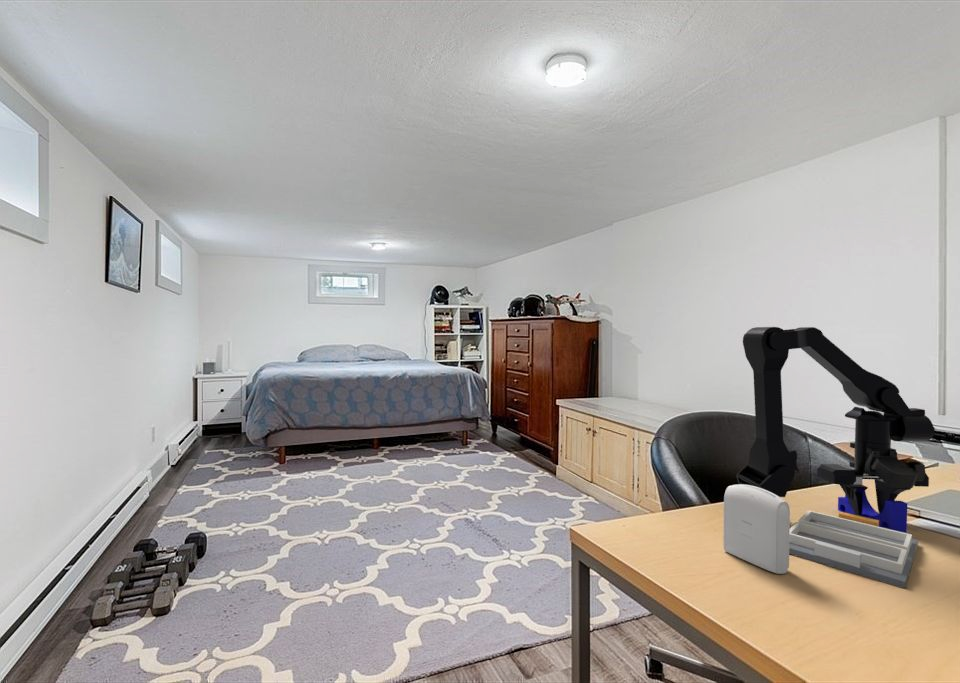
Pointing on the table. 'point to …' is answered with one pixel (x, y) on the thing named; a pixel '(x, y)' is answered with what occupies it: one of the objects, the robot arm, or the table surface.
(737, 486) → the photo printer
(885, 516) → the blue curved cradle
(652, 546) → the table surface
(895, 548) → the dock board
